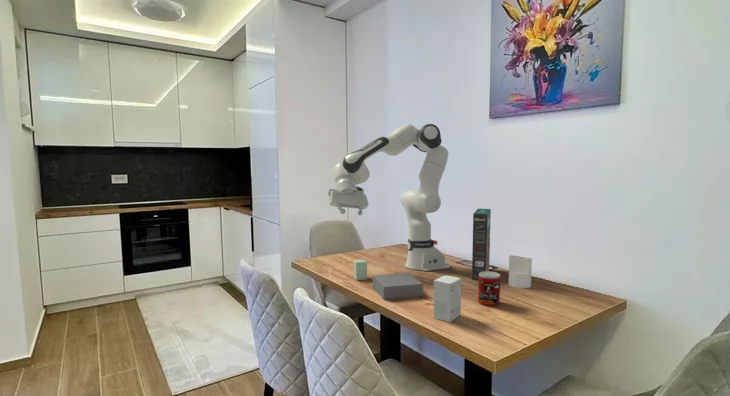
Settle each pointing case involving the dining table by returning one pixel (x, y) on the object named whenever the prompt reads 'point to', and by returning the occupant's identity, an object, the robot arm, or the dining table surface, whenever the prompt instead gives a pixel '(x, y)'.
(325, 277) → the dining table surface
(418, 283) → the stand
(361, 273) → the sage block
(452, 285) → the small box
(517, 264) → the base with upright slab
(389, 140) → the robot arm
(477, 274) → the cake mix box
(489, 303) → the canned food
